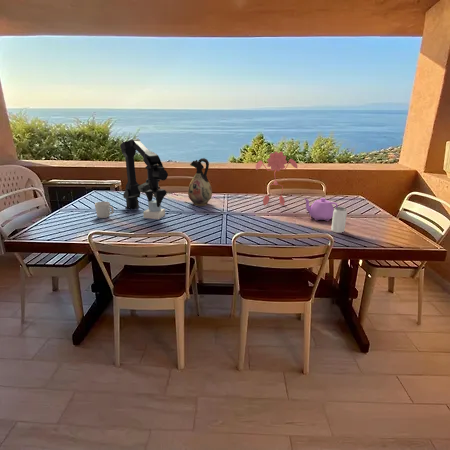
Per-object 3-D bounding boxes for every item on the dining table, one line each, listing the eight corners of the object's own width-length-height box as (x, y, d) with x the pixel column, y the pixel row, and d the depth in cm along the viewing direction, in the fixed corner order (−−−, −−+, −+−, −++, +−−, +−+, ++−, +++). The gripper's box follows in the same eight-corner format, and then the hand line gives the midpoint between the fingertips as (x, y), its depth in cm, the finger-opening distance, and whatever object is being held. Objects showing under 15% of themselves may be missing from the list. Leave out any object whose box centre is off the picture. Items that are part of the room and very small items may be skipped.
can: (329, 229, 180) (331, 207, 177) (341, 229, 181) (344, 206, 177) (333, 233, 174) (336, 210, 171) (346, 233, 175) (349, 210, 171)
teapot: (303, 221, 192) (305, 200, 189) (300, 214, 206) (302, 194, 202) (339, 223, 191) (342, 201, 187) (334, 216, 204) (337, 195, 200)
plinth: (143, 218, 194) (143, 211, 193) (150, 214, 202) (150, 207, 201) (158, 220, 192) (158, 213, 190) (165, 215, 200) (164, 209, 199)
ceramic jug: (183, 205, 220) (182, 158, 210) (194, 200, 233) (194, 155, 224) (208, 209, 214) (208, 160, 204) (217, 203, 227) (218, 157, 218)
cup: (118, 216, 195) (117, 202, 193) (109, 220, 188) (108, 206, 186) (102, 214, 198) (100, 200, 196) (92, 218, 191) (91, 204, 189)
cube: (160, 210, 196) (160, 201, 194) (152, 211, 193) (152, 203, 191) (156, 208, 199) (156, 200, 198) (148, 209, 196) (148, 201, 195)
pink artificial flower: (253, 203, 230) (255, 149, 218) (292, 204, 229) (296, 150, 218) (254, 209, 215) (257, 152, 203) (296, 210, 215) (301, 153, 203)
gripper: (131, 176, 192) (133, 203, 197) (147, 182, 178) (149, 211, 183) (149, 174, 199) (151, 201, 203) (166, 179, 185) (167, 207, 190)
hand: (154, 205), depth 195 cm, fingers open, 9 cm apart
